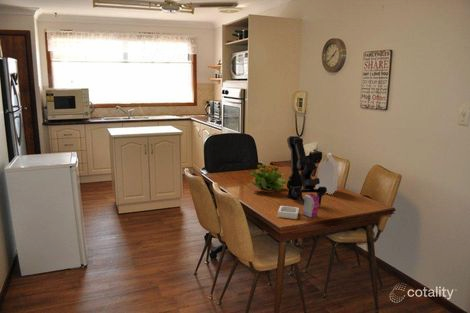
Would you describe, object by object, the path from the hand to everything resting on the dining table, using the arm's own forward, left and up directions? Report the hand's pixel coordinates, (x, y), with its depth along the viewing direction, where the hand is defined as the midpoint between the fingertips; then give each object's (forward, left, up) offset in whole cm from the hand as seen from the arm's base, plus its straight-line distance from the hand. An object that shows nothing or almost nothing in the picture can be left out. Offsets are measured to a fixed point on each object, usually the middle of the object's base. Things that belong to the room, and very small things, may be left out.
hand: (311, 204), depth 199 cm
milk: (-20, +51, -7) cm, 56 cm away
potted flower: (-47, +20, -7) cm, 52 cm away
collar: (-10, -7, -7) cm, 14 cm away
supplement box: (-1, +1, -7) cm, 7 cm away
